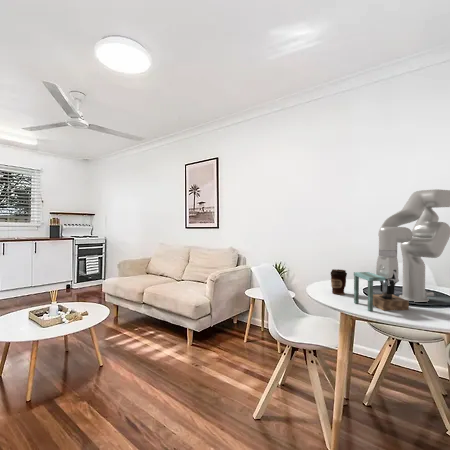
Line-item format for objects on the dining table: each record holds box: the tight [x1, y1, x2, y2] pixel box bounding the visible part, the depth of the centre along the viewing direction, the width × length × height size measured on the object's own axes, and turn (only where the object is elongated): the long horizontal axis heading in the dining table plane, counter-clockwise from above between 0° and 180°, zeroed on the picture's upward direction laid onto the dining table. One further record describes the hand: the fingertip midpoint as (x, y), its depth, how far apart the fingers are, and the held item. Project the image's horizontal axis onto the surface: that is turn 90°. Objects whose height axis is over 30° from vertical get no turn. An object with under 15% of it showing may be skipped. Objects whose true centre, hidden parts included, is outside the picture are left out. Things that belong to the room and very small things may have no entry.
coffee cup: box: [330, 268, 348, 296], centre depth 157 cm, size 9×8×13 cm
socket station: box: [353, 271, 410, 312], centre depth 133 cm, size 19×13×15 cm
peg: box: [382, 278, 393, 300], centre depth 134 cm, size 4×4×12 cm
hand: (387, 292), depth 134 cm, fingers closed on peg, 4 cm apart
